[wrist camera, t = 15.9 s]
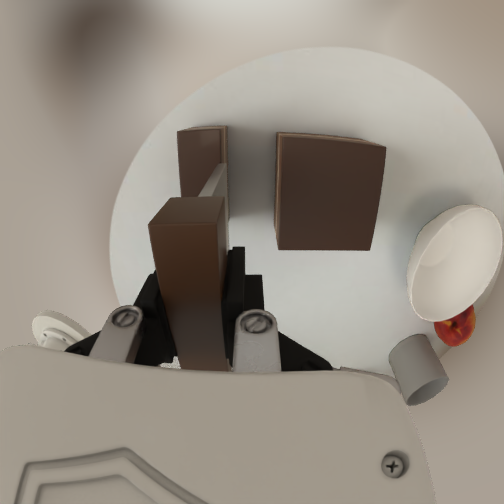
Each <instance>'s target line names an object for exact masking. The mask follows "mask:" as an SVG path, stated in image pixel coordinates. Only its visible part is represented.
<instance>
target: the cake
mask: <svg viewBox="0 0 504 504" xmlns="http://www.w3.org/2000/svg"><path fill="white" fill-rule="evenodd" d="M385 157H386V147H384V146H382V145H379V144H376V143H372V142H369V141H366V140H363V139H357V138H349V137H340V136H331V135H319V134H306V133H288V132H277V133H276V173H275V204H274V228H275V233H276V239H277V245H278V250H357V251H370V248H371V243H372V238H373V234H374V229H375V223H376V218H377V213H378V207H379V201H380V195H381V188H382V181H383V174H384V166H385Z"/></svg>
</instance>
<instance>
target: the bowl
mask: <svg viewBox="0 0 504 504" xmlns="http://www.w3.org/2000/svg"><path fill="white" fill-rule="evenodd" d="M502 245H503V236H502V228H501V225H500V223H499V220H498V218H497V217H496V216H495V215H494V214H493V213H492V211H490V210H488V209H486V208H483V207H481V206H478V205H459V206H456V207H453V208H451V209H449V210H446V211H444V212H443V213H441V214H440V215H439V216H437V217H436V218H435V219H433V220H431V221H430V222H429V223H427V224H426V225H425V226H424V227H423V228H422V230H421V231H420V233H419V234H418V236H417V238H416V241H415V244H414V248H413V250H412V253H411V256H410V258H409V263H408V269H407V277H406V280H407V293H408V298H409V300H410V303H411V305H412V308H413V310H414V312H415V313H416V314H417V315H418V316H419V317H420V318H421V319H424V320H427V321H430V322H435V321H443V320H447V319H450V318H452V317H454V316H456V315H458V314H460V313H461V312H463V311H464V310H466V309H467V308H468V307H469V306H471V305H472V304H473V303H474V302H475V301H476V300H477V299H478V298H479V297H480V295H481V294H482V293H483V292H484V290H485V289H486V288H487V286H488V285H489V283H490V282H491V280H492V278H493V276H494V274H495V272H496V269H497V267H498V264H499V261H500V257H501V253H502Z"/></svg>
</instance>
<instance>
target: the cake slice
mask: <svg viewBox="0 0 504 504" xmlns="http://www.w3.org/2000/svg"><path fill="white" fill-rule="evenodd" d="M177 144H178V161H179V175H180V188H181V197H198V196H199V194H200V192H201V191H202V189H203V187H204V186H205V184H206V182H207V181H208V179H209V178H210V176H211V174H212V173H213V171H214V170H215V168H216V166H217V165H218V164H220V163H226V164H227V197H228V222H229V189H228V140H227V126H205V127H192V128H188V129H184V130H181V131H177Z"/></svg>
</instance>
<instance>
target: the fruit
mask: <svg viewBox="0 0 504 504" xmlns="http://www.w3.org/2000/svg"><path fill="white" fill-rule="evenodd" d="M475 320H476V319H475V313H474V307H473V305H471V306H469V307H468V308H467V309H466V310H464V311H463V312H461V313H460V314H458V315H456V316H454V317H452V318H450V319H447V320H443V321H435V322H434V327H435V331H436V333H437V335H438V337H439V338H440V339H441V340H442V341H443V342H444V343H445V344H447V345H449V346H458V345H461V344H463V343H465V342H466V341H467V340H468V339H469V338H470V336H471V335H472V333H473V331H474V328H475Z"/></svg>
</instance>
